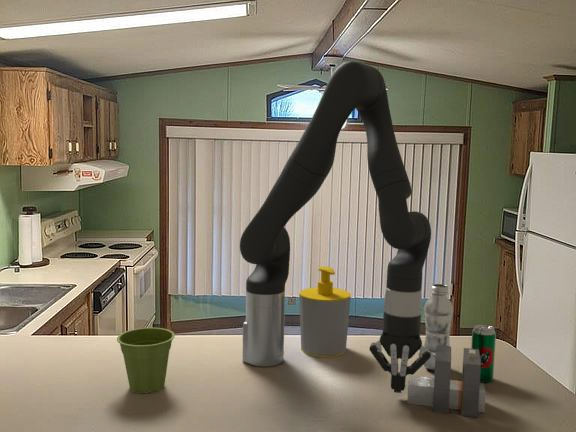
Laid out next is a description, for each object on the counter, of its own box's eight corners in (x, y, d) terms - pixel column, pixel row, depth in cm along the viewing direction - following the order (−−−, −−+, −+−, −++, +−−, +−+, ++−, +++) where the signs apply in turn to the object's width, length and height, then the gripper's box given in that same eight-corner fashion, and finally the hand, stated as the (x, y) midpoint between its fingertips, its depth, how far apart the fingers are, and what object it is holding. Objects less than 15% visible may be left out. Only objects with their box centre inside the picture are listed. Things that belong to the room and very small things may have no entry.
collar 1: (432, 411, 119) (435, 360, 118) (434, 392, 128) (436, 345, 127) (448, 413, 118) (451, 362, 117) (448, 394, 127) (451, 346, 126)
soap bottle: (314, 361, 145) (316, 275, 142) (289, 345, 156) (290, 265, 154) (359, 353, 151) (362, 270, 148) (332, 338, 162) (334, 261, 160)
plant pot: (123, 377, 133) (122, 327, 132) (177, 376, 135) (177, 327, 133) (112, 399, 122) (111, 345, 120) (172, 398, 123) (171, 344, 121)
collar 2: (461, 415, 117) (464, 358, 116) (461, 396, 126) (464, 343, 125) (477, 417, 117) (481, 360, 115) (476, 398, 126) (479, 344, 124)
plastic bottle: (451, 375, 138) (456, 290, 135) (421, 372, 139) (425, 288, 137) (450, 365, 144) (454, 283, 142) (421, 363, 145) (424, 281, 143)
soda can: (497, 380, 135) (501, 328, 134) (482, 385, 133) (485, 332, 131) (480, 373, 140) (483, 322, 138) (464, 377, 137) (467, 325, 136)
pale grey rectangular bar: (407, 403, 122) (408, 384, 122) (408, 393, 127) (409, 375, 127) (484, 412, 119) (485, 393, 118) (482, 402, 124) (484, 383, 123)
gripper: (367, 311, 121) (363, 394, 123) (435, 318, 117) (429, 403, 119) (372, 302, 128) (368, 380, 130) (436, 308, 124) (431, 388, 127)
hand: (397, 391), depth 125 cm, fingers closed
